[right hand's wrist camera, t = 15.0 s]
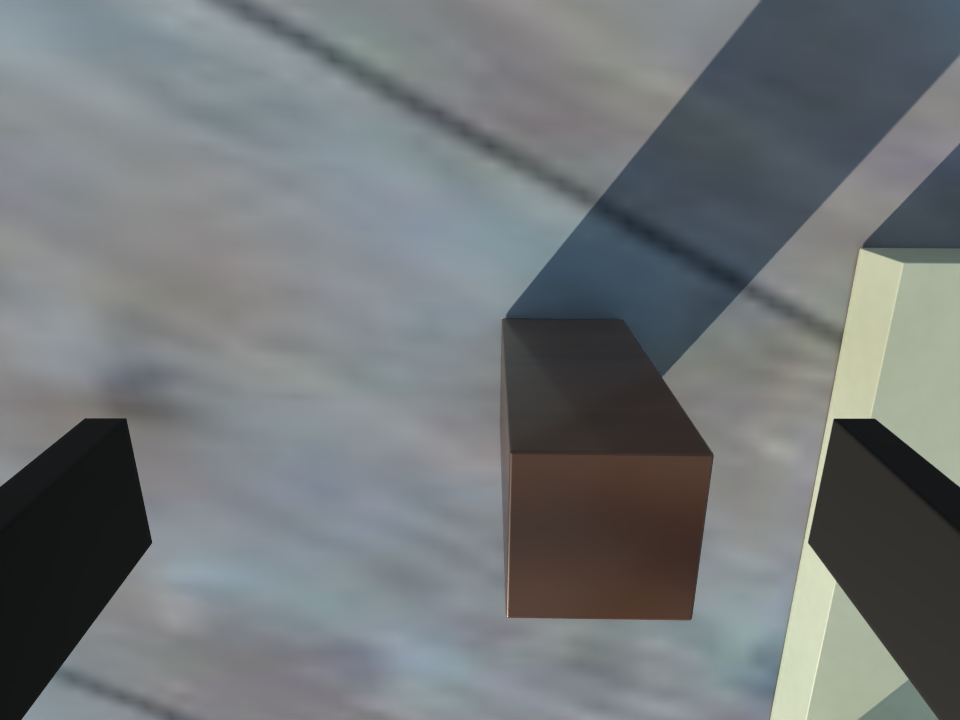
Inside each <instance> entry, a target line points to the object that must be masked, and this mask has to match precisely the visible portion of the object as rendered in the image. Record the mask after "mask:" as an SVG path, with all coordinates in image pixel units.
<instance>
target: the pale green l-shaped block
mask: <svg viewBox="0 0 960 720" xmlns="http://www.w3.org/2000/svg"><path fill="white" fill-rule="evenodd" d="M834 419H876V420H877V421H879V422H880V423H881V424H882V425H884V426H885V427H886V428H887V429H889V430H890V431H891V432H892V433H894V434H895V435H896V436H897V437H898V438H900V439H901V440H902V441H903V442H905V443H906V444H907V445H908V446H910V447H911V448H912V449H913V450H915V451H916V452H917V453H918V454H920V455H921V456H922V457H923V458H924V459H926V460H927V461H928V462H929V463H931V464H932V465H933V466H934V467H936V468H937V469H938V470H939V471H941V472H942V473H943V474H944V475H946V476H947V477H948V478H949V479H950V480H952V481H953V482H954V483H955V484H957V485H958V486H959V487H960V248H860V250H859V256H858V261H857V266H856V271H855V277H854V282H853V287H852V292H851V298H850V303H849V308H848V314H847V319H846V324H845V329H844V335H843V340H842V345H841V350H840V356H839V361H838V366H837V371H836V377H835V382H834V387H833V392H832V398H831V403H830V408H829V413H828V419H827V424H826V429H825V434H824V440H823V445H822V450H821V455H820V461H819V466H818V471H817V476H816V482H815V487H814V492H813V497H812V503H811V508H810V513H809V519H808V524H807V529H806V534H805V540H804V545H803V550H802V555H801V561H800V566H799V571H798V576H797V582H796V587H795V592H794V597H793V603H792V608H791V613H790V618H789V624H788V629H787V634H786V639H785V645H784V650H783V655H782V660H781V666H780V671H779V676H778V681H777V687H776V692H775V697H774V703H773V708H772V713H771V718H770V720H939V719H938V718H937V717H936V715H935V714H934V713H933V711H932V710H931V709H930V707H929V706H928V705H927V703H926V702H925V701H924V699H923V698H922V697H921V695H920V694H919V692H918V691H917V690H916V688H915V687H914V686H913V684H912V683H911V682H910V680H909V679H908V678H907V676H906V675H905V674H904V672H903V671H902V669H901V668H900V667H899V665H898V664H897V663H896V661H895V660H894V659H893V657H892V656H891V655H890V653H889V652H888V651H887V649H886V648H885V646H884V645H883V644H882V642H881V641H880V640H879V638H878V637H877V636H876V634H875V633H874V632H873V630H872V629H871V628H870V626H869V625H868V623H867V622H866V621H865V619H864V618H863V617H862V615H861V614H860V613H859V611H858V610H857V609H856V607H855V606H854V605H853V603H852V602H851V600H850V599H849V598H848V596H847V595H846V594H845V592H844V591H843V590H842V588H841V587H840V586H839V584H838V583H837V582H836V580H835V579H834V577H833V576H832V575H831V573H830V572H829V571H828V569H827V568H826V567H825V565H824V564H823V563H822V561H821V560H820V559H819V557H818V556H817V555H816V553H815V552H814V550H813V549H812V548H811V546H810V545H809V544H808V540H809V535H810V530H811V525H812V520H813V516H814V511H815V506H816V501H817V496H818V492H819V487H820V482H821V477H822V472H823V468H824V463H825V458H826V453H827V448H828V444H829V439H830V434H831V429H832V424H833V420H834Z"/></svg>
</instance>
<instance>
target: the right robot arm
mask: <svg viewBox="0 0 960 720" xmlns="http://www.w3.org/2000/svg"><path fill="white" fill-rule="evenodd" d="M151 544H152V540H151V535H150V530H149V525H148V520H147V516H146V511H145V506H144V501H143V496H142V492H141V487H140V482H139V477H138V472H137V468H136V463H135V458H134V453H133V448H132V444H131V439H130V434H129V429H128V424H127V420H126V419H84V420H83V421H81V422H80V423H79V424H78V425H76V426H75V427H74V428H73V429H71V430H70V431H69V432H68V433H66V434H65V435H64V436H63V437H62V438H60V439H59V440H58V441H57V442H55V443H54V444H53V445H52V446H50V447H49V448H48V449H47V450H45V451H44V452H43V453H42V454H40V455H39V456H38V457H37V458H36V459H34V460H33V461H32V462H31V463H29V464H28V465H27V466H26V467H24V468H23V469H22V470H21V471H19V472H18V473H17V474H16V475H14V476H13V477H12V478H11V479H10V480H8V481H7V482H6V483H5V484H3V485H2V486H1V487H0V720H21V719H22V718H23V717H24V715H25V714H26V713H27V711H28V710H29V709H30V707H31V706H32V705H33V703H34V702H35V701H36V699H37V698H38V696H39V695H40V694H41V692H42V691H43V690H44V688H45V687H46V686H47V684H48V683H49V682H50V680H51V679H52V678H53V676H54V675H55V674H56V672H57V671H58V669H59V668H60V667H61V665H62V664H63V663H64V661H65V660H66V659H67V657H68V656H69V655H70V653H71V652H72V651H73V649H74V648H75V646H76V645H77V644H78V642H79V641H80V640H81V638H82V637H83V636H84V634H85V633H86V632H87V630H88V629H89V628H90V626H91V625H92V623H93V622H94V621H95V619H96V618H97V617H98V615H99V614H100V613H101V611H102V610H103V609H104V607H105V606H106V605H107V603H108V602H109V600H110V599H111V598H112V596H113V595H114V594H115V592H116V591H117V590H118V588H119V587H120V586H121V584H122V583H123V582H124V580H125V579H126V577H127V576H128V575H129V573H130V572H131V571H132V569H133V568H134V567H135V565H136V564H137V563H138V561H139V560H140V559H141V557H142V556H143V555H144V553H145V552H146V550H147V549H148V548H149V546H150V545H151ZM808 544H809V545H810V546H811V548H812V549H813V550H814V552H815V553H816V555H817V556H818V557H819V559H820V560H821V561H822V563H823V564H824V565H825V567H826V568H827V569H828V571H829V572H830V573H831V575H832V576H833V577H834V579H835V580H836V582H837V583H838V584H839V586H840V587H841V588H842V590H843V591H844V592H845V594H846V595H847V596H848V598H849V599H850V600H851V602H852V603H853V605H854V606H855V607H856V609H857V610H858V611H859V613H860V614H861V615H862V617H863V618H864V619H865V621H866V622H867V623H868V625H869V626H870V628H871V629H872V630H873V632H874V633H875V634H876V636H877V637H878V638H879V640H880V641H881V642H882V644H883V645H884V646H885V648H886V649H887V651H888V652H889V653H890V655H891V656H892V657H893V659H894V660H895V661H896V663H897V664H898V665H899V667H900V668H901V669H902V671H903V672H904V674H905V675H906V676H907V678H908V679H909V680H910V682H911V683H912V684H913V686H914V687H915V688H916V690H917V691H918V692H919V694H920V695H921V697H922V698H923V699H924V701H925V702H926V703H927V705H928V706H929V707H930V709H931V710H932V711H933V713H934V714H935V715H936V717H937V718H938V719H939V720H960V487H959V486H958V485H957V484H955V483H954V482H953V481H952V480H950V479H949V478H948V477H947V476H946V475H944V474H943V473H942V472H941V471H939V470H938V469H937V468H936V467H934V466H933V465H932V464H931V463H929V462H928V461H927V460H926V459H924V458H923V457H922V456H921V455H920V454H918V453H917V452H916V451H915V450H913V449H912V448H911V447H910V446H908V445H907V444H906V443H905V442H903V441H902V440H901V439H900V438H898V437H897V436H896V435H895V434H894V433H892V432H891V431H890V430H889V429H887V428H886V427H885V426H884V425H882V424H881V423H880V422H879V421H877V420H876V419H834V420H833V424H832V429H831V434H830V439H829V444H828V448H827V453H826V458H825V463H824V468H823V472H822V477H821V482H820V487H819V492H818V496H817V501H816V506H815V511H814V516H813V520H812V525H811V530H810V535H809V540H808Z"/></svg>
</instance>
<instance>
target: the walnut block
mask: <svg viewBox="0 0 960 720" xmlns="http://www.w3.org/2000/svg"><path fill="white" fill-rule="evenodd" d="M500 441H501V473H502V506H503V538H504V571H505V603H506V616H507V617H508V618H568V619H636V620H691V619H692V614H693V607H694V599H695V592H696V584H697V577H698V569H699V562H700V554H701V547H702V539H703V532H704V524H705V517H706V509H707V502H708V494H709V487H710V479H711V472H712V464H713V457H714V455H713V453H712V451H711V450H710V448H709V447H708V445H707V444H706V442H705V441H704V439H703V438H702V436H701V435H700V433H699V432H698V430H697V429H696V427H695V426H694V424H693V423H692V421H691V420H690V418H689V417H688V416H687V414H686V413H685V411H684V410H683V408H682V407H681V405H680V404H679V402H678V401H677V399H676V398H675V396H674V395H673V393H672V392H671V390H670V389H669V387H668V386H667V384H666V383H665V381H664V380H663V378H662V377H661V375H660V374H659V372H658V371H657V369H656V368H655V367H654V365H653V364H652V362H651V361H650V359H649V358H648V356H647V355H646V353H645V352H644V350H643V349H642V347H641V346H640V344H639V343H638V341H637V340H636V338H635V337H634V335H633V334H632V332H631V331H630V329H629V328H628V326H627V325H626V323H625V322H624V320H597V319H502V344H501V404H500Z"/></svg>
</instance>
